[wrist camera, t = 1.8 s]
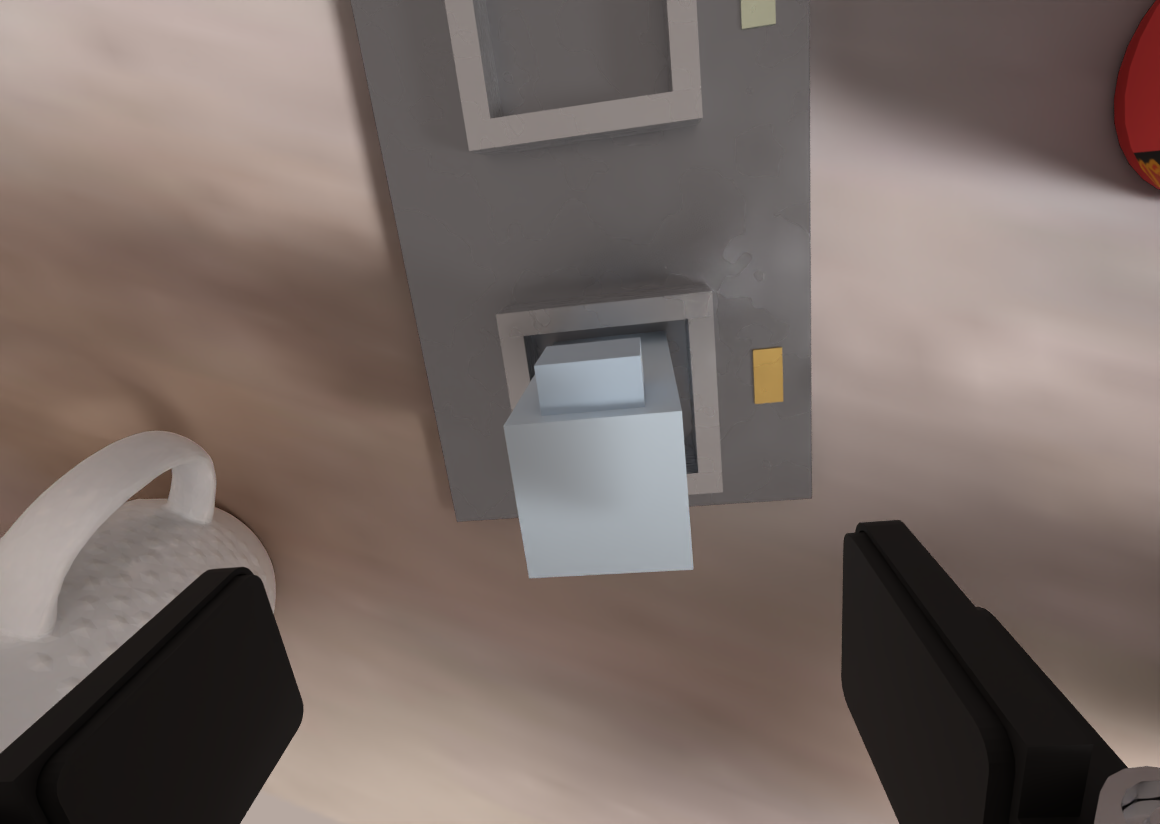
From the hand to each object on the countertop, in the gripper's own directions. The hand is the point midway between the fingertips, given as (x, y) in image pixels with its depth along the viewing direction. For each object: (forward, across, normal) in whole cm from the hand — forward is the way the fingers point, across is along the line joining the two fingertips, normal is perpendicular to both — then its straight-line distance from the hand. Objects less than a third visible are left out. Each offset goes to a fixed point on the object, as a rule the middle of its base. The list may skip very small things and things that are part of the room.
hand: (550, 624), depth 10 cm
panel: (+15, -1, -6) cm, 16 cm away
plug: (+14, -1, 0) cm, 14 cm away
